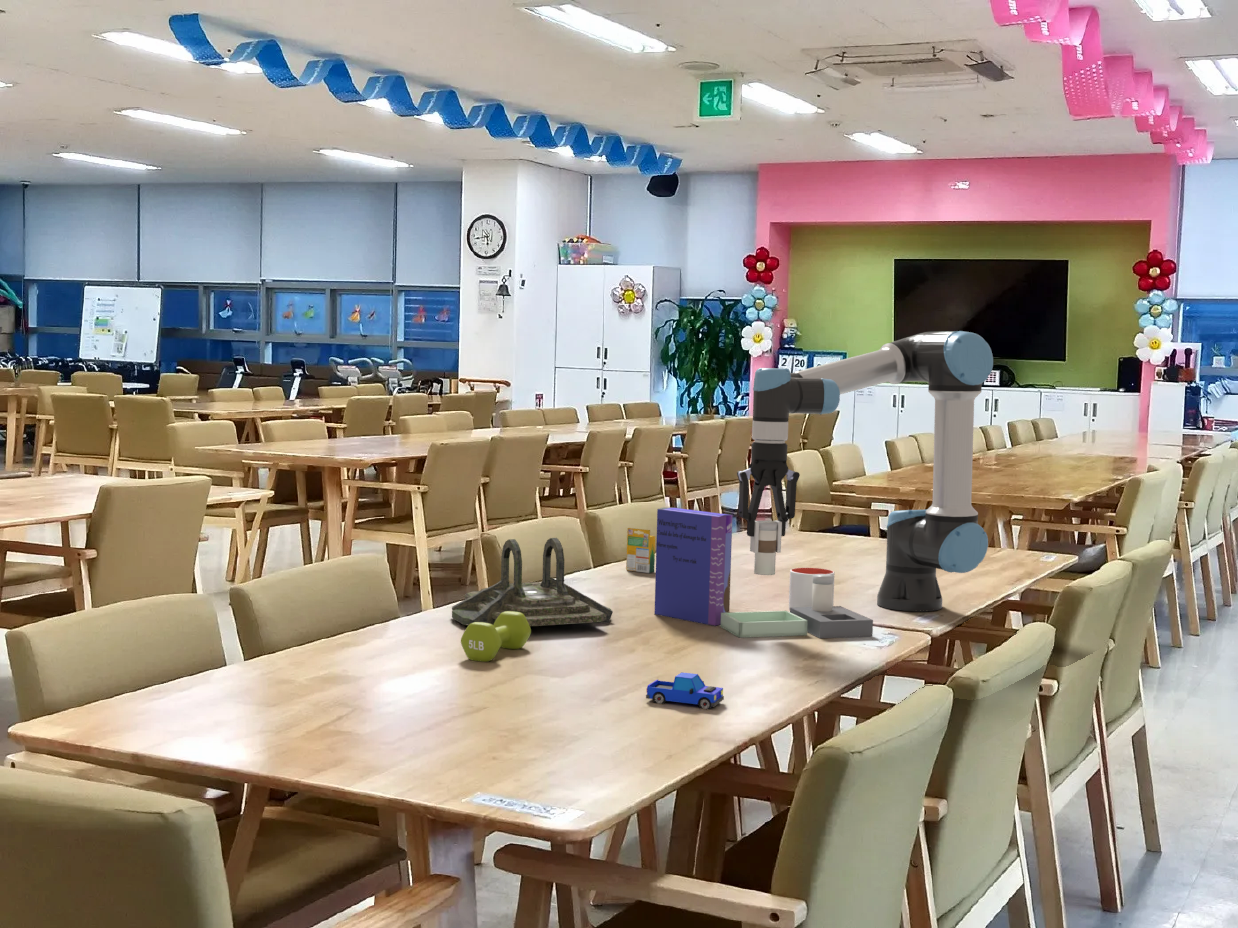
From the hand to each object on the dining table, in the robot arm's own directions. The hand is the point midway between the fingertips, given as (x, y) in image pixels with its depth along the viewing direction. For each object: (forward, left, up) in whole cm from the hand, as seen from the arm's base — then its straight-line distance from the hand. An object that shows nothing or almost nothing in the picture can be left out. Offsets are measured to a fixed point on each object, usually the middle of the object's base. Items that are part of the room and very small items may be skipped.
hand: (765, 551), depth 291 cm
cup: (-18, -16, -17) cm, 30 cm away
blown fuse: (0, 0, -5) cm, 5 cm away
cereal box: (+11, -15, -17) cm, 25 cm away
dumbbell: (+60, +12, -17) cm, 63 cm away
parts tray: (0, 0, -17) cm, 17 cm away
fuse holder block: (-15, +1, -17) cm, 23 cm away
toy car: (+36, +54, -18) cm, 67 cm away
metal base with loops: (+46, -20, -18) cm, 53 cm away
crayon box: (+3, -80, -17) cm, 82 cm away
